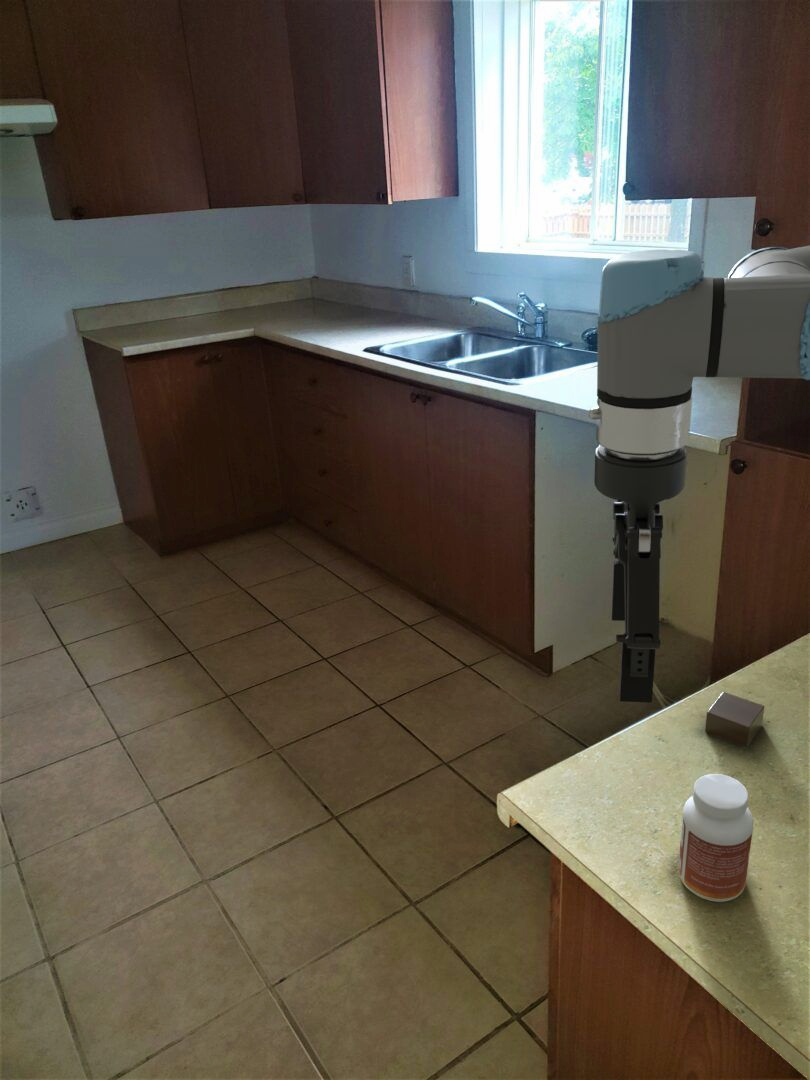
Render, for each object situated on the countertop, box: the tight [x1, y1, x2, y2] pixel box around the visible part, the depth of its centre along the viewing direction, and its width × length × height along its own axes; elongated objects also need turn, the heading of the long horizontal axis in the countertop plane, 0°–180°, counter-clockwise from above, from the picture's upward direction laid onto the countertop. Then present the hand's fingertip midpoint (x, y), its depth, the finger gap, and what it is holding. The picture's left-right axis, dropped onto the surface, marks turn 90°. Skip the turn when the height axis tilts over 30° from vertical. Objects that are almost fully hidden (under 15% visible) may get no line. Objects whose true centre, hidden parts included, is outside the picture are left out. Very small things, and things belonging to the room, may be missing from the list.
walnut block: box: [704, 691, 765, 748], centre depth 98 cm, size 5×5×3 cm
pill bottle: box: [677, 773, 754, 903], centre depth 77 cm, size 6×6×11 cm
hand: (629, 656), depth 78 cm, fingers open, 13 cm apart
